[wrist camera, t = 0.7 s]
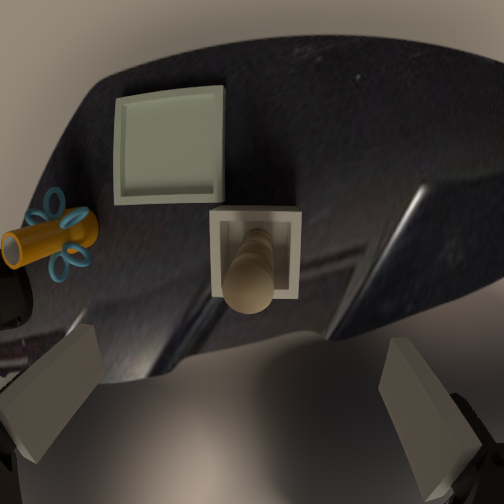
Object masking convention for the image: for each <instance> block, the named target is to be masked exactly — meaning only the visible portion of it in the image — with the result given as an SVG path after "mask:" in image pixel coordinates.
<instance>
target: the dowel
mask: <svg viewBox="0 0 504 504" xmlns="http://www.w3.org/2000/svg"><path fill="white" fill-rule="evenodd" d="M222 293H223V297H224V299H225V301H226V303H227V304H228V305H229V306H230V307H231V308H232V309H234V310H236V311H238V312H240V313H244V314H253V313H257V312H260V311H262V310H263V309H265V308H266V307H267V306H268V305H269V304H270V302H271V300H272V298H273V295H274V272H273V241H272V237H271V235H270V234H269V233H268V232H267V231H265V230H263V229H260V228H255V229H252V230H250V231H248V232H247V233H246V235H245V236H244V238H243V240H242V242H241V245H240V247H239V249H238V251H237V253H236V255H235V257H234V259H233V262H232V264H231V266H230V268H229V270H228V272H227V274H226V276H225V279H224V281H223V285H222Z"/></svg>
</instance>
